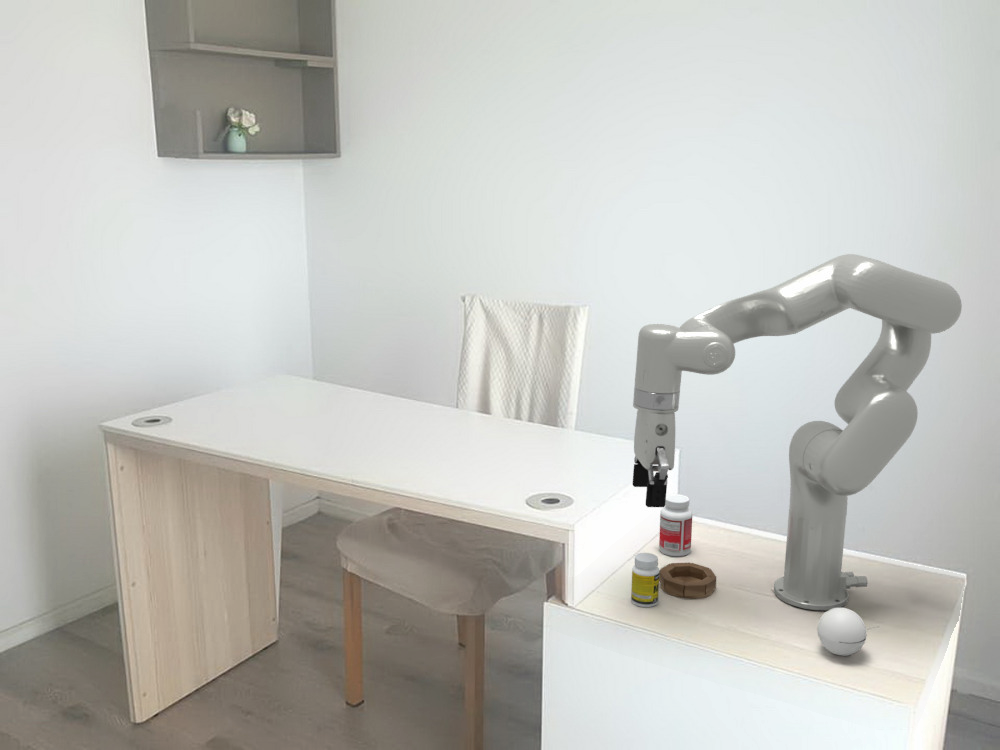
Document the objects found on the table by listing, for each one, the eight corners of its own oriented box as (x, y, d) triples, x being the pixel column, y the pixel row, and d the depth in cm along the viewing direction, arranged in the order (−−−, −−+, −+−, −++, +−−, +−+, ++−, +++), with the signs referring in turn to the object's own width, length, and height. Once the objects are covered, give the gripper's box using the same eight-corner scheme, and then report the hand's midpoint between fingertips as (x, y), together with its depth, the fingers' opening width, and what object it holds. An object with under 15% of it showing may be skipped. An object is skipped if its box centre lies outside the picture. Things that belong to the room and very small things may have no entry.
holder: (705, 574, 182) (705, 561, 182) (720, 598, 173) (721, 584, 173) (654, 576, 182) (655, 563, 181) (667, 600, 172) (668, 586, 172)
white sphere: (824, 664, 151) (828, 621, 149) (809, 641, 158) (812, 599, 157) (889, 665, 151) (893, 621, 150) (871, 641, 158) (875, 599, 157)
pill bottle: (683, 543, 197) (685, 491, 194) (695, 556, 191) (698, 502, 188) (654, 546, 195) (656, 493, 193) (665, 558, 189) (668, 504, 187)
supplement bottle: (657, 609, 169) (659, 563, 167) (629, 606, 170) (631, 561, 168) (658, 596, 174) (660, 552, 172) (631, 594, 174) (633, 550, 173)
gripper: (692, 413, 155) (683, 515, 159) (665, 387, 172) (657, 479, 176) (646, 412, 155) (638, 514, 158) (623, 386, 171) (616, 479, 175)
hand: (648, 496), depth 167 cm, fingers open, 9 cm apart
